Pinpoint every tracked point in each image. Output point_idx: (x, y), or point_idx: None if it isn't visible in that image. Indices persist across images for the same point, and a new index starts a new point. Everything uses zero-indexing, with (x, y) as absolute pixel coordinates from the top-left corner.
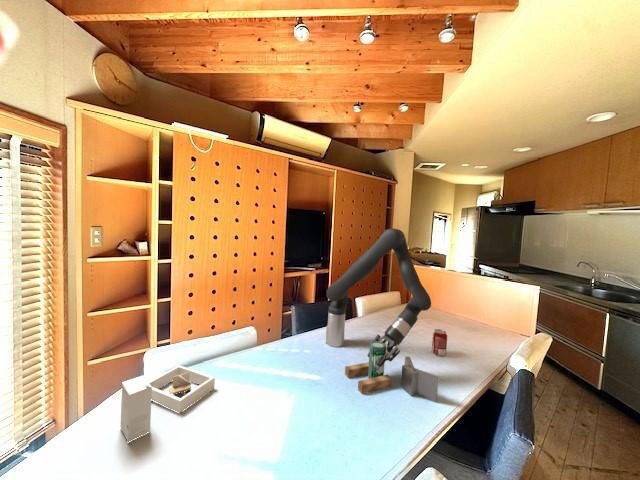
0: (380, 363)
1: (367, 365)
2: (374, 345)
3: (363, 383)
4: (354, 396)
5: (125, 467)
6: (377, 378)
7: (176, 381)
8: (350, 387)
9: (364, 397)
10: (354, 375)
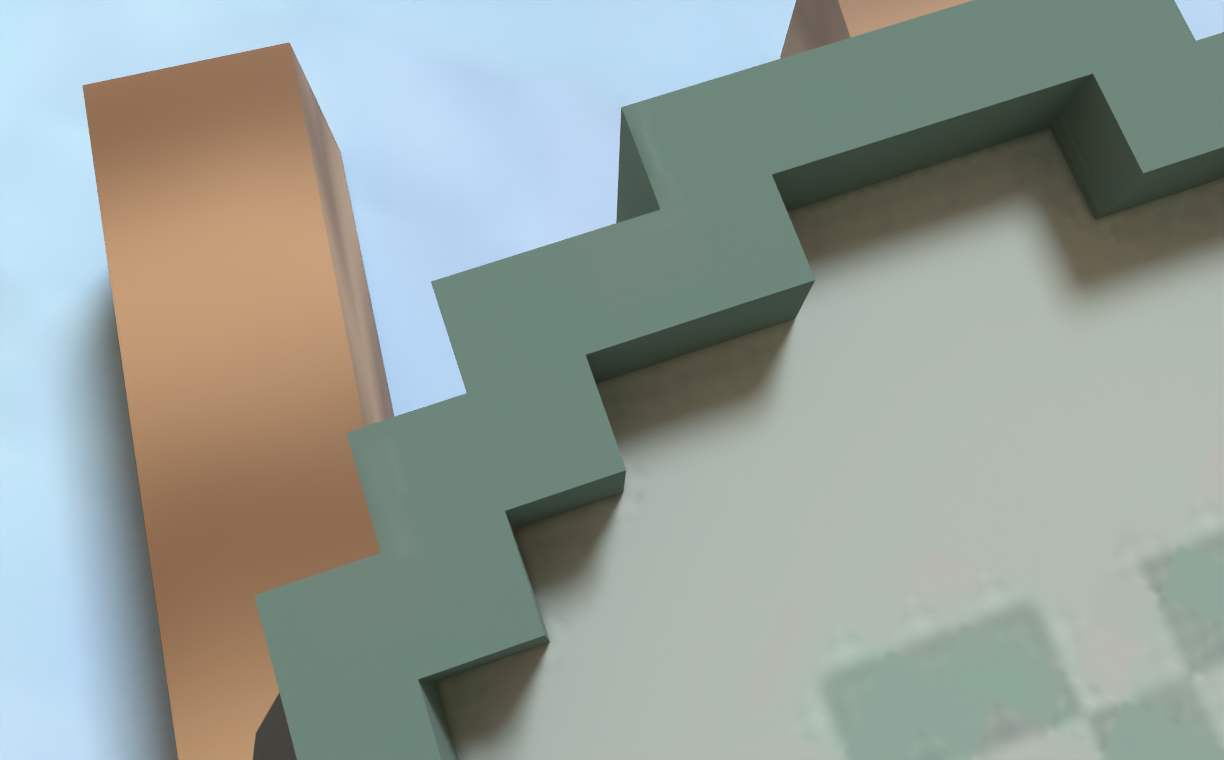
0: (260, 750)
1: None
2: (1106, 454)
3: (155, 141)
4: (128, 26)
5: None
6: None
7: None
8: (435, 23)
9: (53, 213)
10: None
